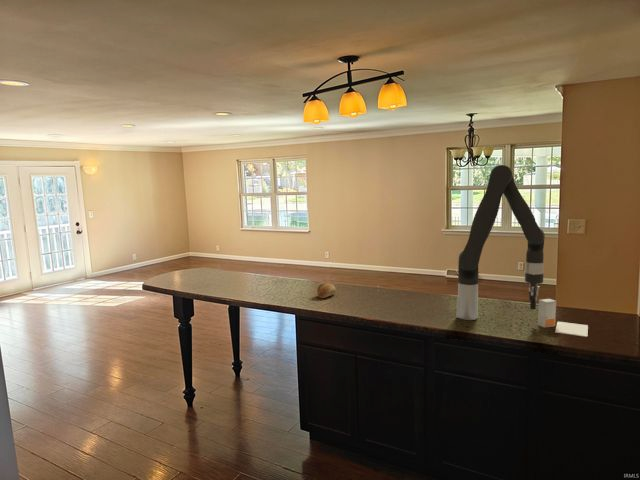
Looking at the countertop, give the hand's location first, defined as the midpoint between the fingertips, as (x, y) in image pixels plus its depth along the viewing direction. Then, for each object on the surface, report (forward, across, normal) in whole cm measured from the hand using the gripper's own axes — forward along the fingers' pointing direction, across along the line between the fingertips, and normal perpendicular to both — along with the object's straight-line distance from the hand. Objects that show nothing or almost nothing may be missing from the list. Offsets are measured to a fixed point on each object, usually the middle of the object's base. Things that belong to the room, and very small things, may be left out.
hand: (533, 308), depth 198 cm
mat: (+7, 0, +16) cm, 17 cm away
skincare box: (+7, 0, +6) cm, 9 cm away
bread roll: (+7, +1, -111) cm, 111 cm away
